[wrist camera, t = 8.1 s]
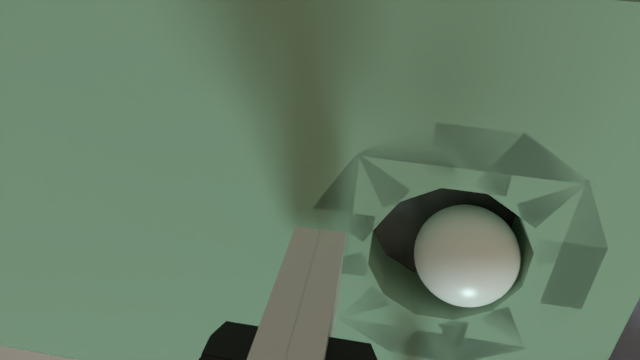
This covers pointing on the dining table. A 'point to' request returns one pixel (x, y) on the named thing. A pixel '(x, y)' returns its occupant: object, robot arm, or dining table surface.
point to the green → (312, 167)
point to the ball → (467, 255)
